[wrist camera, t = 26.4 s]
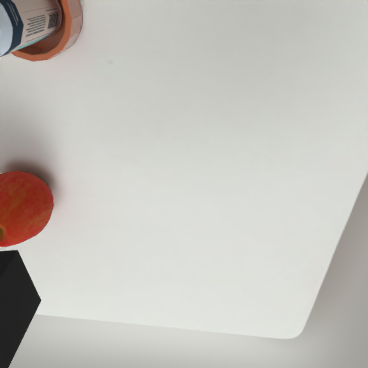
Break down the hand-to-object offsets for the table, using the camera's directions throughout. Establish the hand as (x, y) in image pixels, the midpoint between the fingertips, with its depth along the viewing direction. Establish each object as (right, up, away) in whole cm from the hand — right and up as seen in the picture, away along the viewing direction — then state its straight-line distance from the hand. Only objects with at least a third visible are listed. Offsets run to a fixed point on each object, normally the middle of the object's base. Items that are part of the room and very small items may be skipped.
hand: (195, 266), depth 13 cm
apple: (-20, +3, +33) cm, 39 cm away
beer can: (-15, +20, +22) cm, 33 cm away
